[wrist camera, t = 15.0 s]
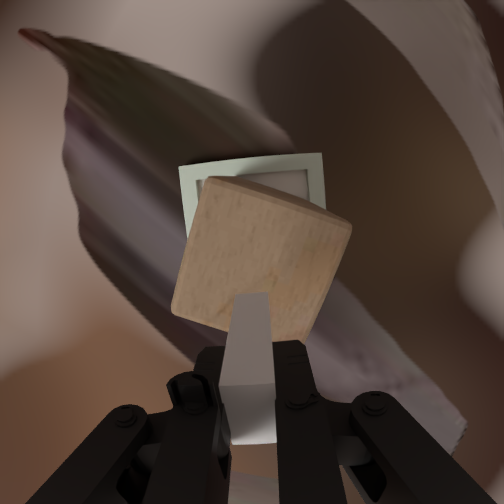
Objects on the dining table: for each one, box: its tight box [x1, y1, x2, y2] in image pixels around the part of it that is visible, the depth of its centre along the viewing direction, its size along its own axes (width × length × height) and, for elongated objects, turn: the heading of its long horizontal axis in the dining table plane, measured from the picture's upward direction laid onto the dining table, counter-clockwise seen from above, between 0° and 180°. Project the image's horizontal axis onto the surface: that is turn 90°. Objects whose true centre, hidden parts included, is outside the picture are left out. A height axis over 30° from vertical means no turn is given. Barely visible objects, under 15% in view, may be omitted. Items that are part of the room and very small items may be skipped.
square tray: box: [179, 153, 326, 238], centre depth 38 cm, size 18×18×2 cm
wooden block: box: [171, 176, 352, 344], centre depth 29 cm, size 10×10×20 cm
